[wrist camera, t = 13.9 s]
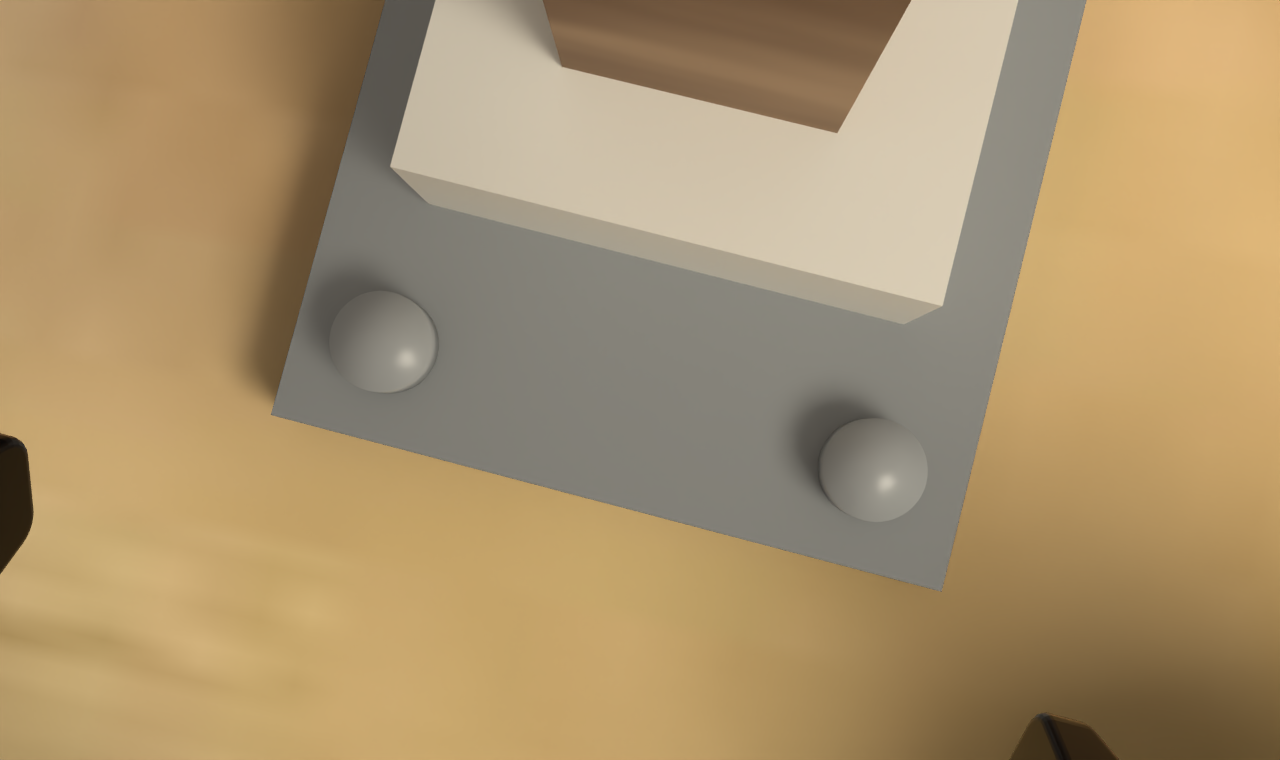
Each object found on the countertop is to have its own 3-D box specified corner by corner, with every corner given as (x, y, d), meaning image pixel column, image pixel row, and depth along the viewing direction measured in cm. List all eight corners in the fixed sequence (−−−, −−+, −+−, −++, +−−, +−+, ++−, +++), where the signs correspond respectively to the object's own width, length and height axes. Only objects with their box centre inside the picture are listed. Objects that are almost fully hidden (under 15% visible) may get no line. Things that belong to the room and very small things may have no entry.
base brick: (927, 583, 22) (987, 617, 18) (292, 415, 23) (205, 411, 18) (1145, -309, 23) (1251, -474, 19) (529, -448, 24) (499, -640, 19)
